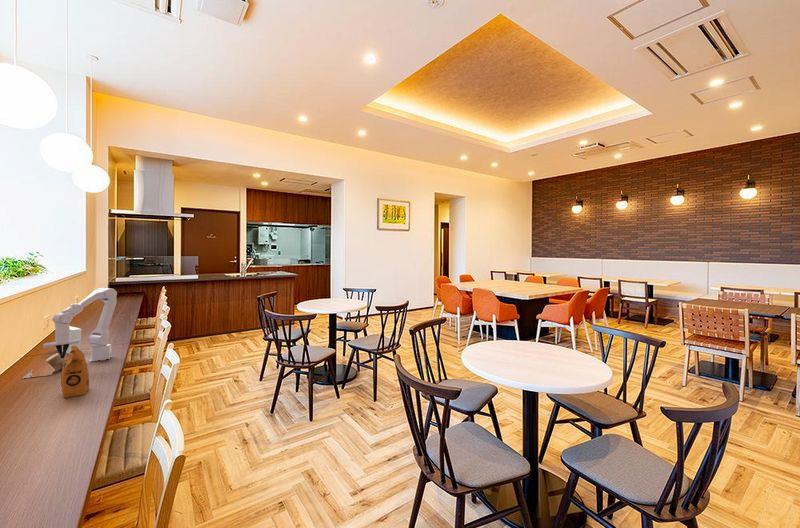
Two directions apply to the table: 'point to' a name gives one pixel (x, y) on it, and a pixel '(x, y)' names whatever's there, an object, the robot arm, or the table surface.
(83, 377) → the coffee package
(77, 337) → the skincare box
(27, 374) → the mat
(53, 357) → the brown and cream block
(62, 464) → the table surface
